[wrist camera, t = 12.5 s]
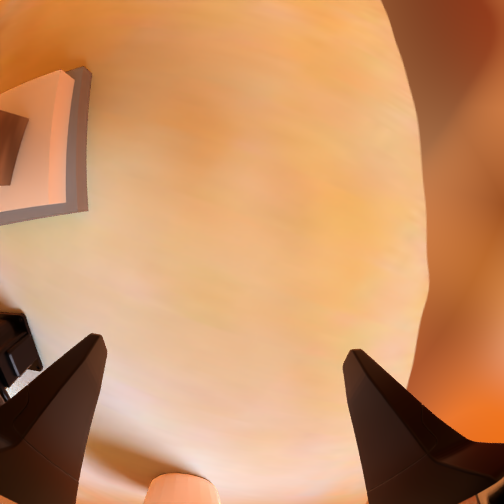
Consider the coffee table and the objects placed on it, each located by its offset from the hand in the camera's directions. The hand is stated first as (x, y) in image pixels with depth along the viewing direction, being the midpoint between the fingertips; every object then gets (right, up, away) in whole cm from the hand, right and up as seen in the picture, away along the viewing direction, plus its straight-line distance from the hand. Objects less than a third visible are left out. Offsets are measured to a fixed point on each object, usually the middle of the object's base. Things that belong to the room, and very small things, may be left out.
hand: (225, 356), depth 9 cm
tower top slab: (-18, +12, +7) cm, 23 cm away
